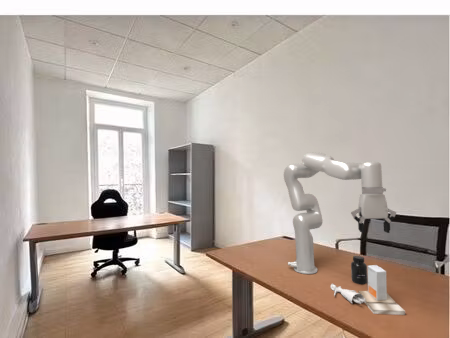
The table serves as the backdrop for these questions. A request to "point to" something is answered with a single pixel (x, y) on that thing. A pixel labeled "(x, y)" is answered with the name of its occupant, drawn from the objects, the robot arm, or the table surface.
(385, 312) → the laid board
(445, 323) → the table surface
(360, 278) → the supplement bottle
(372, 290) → the skincare box
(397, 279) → the table surface
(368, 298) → the beige flat panel
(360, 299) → the woman figurine
